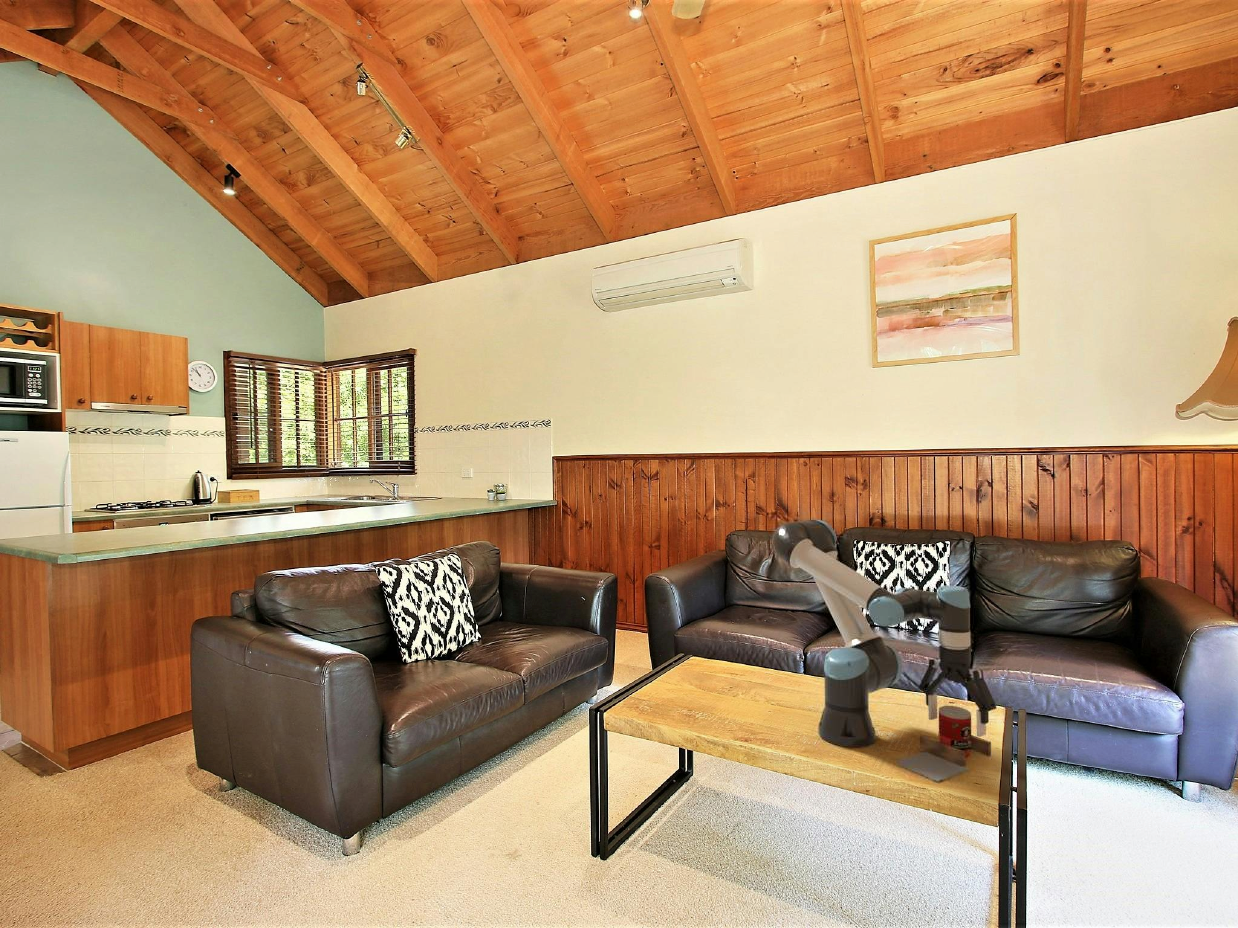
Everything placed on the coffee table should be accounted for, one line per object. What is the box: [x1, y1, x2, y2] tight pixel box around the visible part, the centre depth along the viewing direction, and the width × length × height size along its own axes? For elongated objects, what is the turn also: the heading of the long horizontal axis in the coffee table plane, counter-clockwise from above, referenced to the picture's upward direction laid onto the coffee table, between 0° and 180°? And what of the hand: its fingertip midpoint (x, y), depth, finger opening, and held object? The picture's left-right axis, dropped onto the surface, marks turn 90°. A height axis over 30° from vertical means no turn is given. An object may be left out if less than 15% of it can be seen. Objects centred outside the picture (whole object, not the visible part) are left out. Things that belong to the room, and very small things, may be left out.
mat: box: [894, 751, 969, 783], centre depth 170 cm, size 12×12×1 cm
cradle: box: [919, 734, 992, 767], centre depth 178 cm, size 12×12×4 cm
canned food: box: [938, 705, 972, 759], centre depth 178 cm, size 8×8×11 cm
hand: (956, 726), depth 178 cm, fingers open, 13 cm apart
